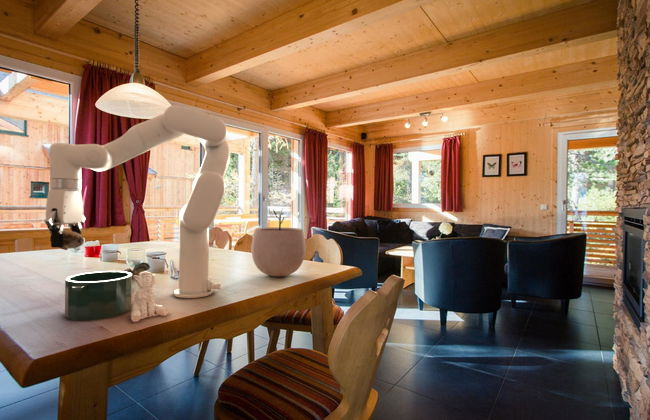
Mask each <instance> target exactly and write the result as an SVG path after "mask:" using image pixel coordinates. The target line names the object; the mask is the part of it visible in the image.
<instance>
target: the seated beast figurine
mask: <svg viewBox="0 0 650 420" xmlns="http://www.w3.org/2000/svg"><path fill="white" fill-rule="evenodd" d="M155 276H156V274H154V273H152V272H151V271H144V272H140V275H139V276H137V275H133V277H134V279H133V280H135V281H136V285H137V286H138V287H139V288H138V289H137V291H136V292H135V295H134V300H133V302H132V304H131V310H130V311H131V313H130V319H131V321H132V322H133V323H137V322H139V321H140V320H143V319H148V318H152V317H157V316H162V317H163V316H164V317H165V316H167V315H168V313H169V309H168V308H166V307H165V306H164V305H163V304H157V303H156V302H155V300H154V299H155V295H154V291H153V290H154V289H153V286H154V285H155V284H156V279H155Z"/></svg>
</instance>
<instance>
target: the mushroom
mask: <svg viewBox="0 0 650 420" xmlns="http://www.w3.org/2000/svg"><path fill="white" fill-rule="evenodd" d="M62 233H64V247H58V248H59V249H61V250H64V251H68V249H77V248H80V247H81V246H83V243H84V237H83V235H82V234H81V235H80V234H79V233H76V232H73V231H71V230H68V229H63V231H62ZM49 237H50V240H49V241H50V242H51V236H49Z"/></svg>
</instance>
